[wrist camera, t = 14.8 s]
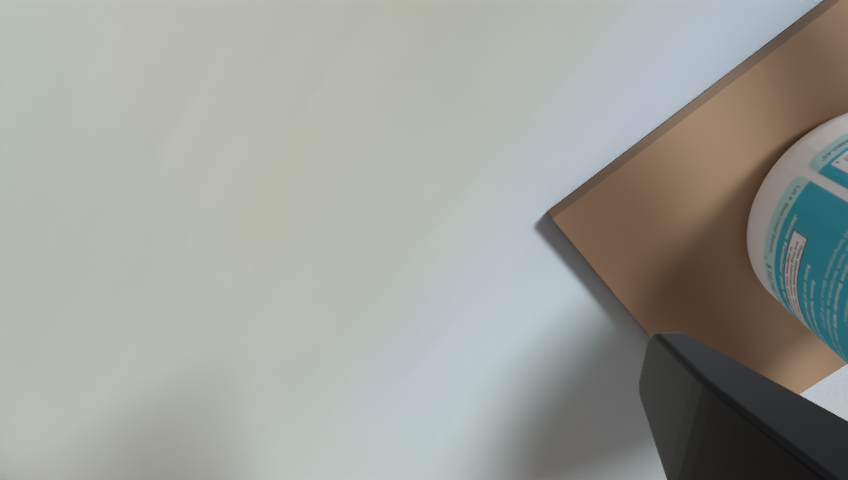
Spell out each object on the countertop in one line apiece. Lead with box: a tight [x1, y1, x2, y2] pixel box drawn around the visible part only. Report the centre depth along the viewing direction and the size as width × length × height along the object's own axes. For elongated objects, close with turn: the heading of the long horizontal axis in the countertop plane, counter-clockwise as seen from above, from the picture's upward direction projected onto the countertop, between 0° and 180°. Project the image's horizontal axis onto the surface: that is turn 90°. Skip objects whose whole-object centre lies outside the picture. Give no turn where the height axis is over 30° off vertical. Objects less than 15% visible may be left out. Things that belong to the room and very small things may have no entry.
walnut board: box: [548, 0, 848, 395], centre depth 24 cm, size 16×13×1 cm
